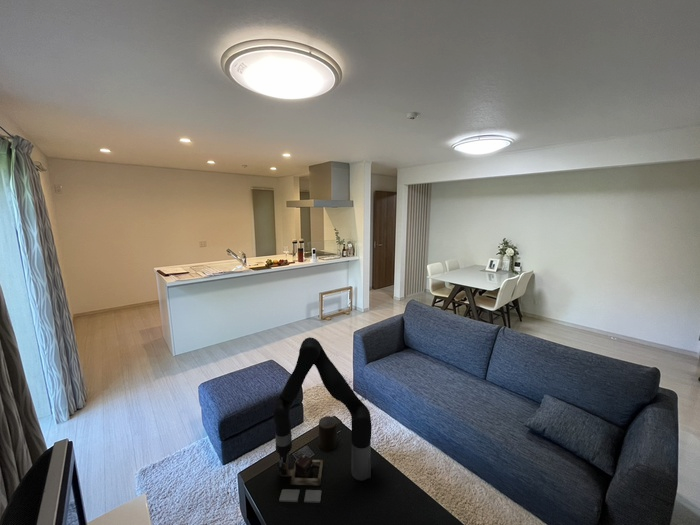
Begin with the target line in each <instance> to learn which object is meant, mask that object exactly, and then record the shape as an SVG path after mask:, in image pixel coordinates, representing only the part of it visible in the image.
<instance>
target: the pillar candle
mask: <svg viewBox="0 0 700 525" xmlns="http://www.w3.org/2000/svg"><path fill="white" fill-rule="evenodd" d="M337 432H338V431H337V419H336V418H335V417H333V416H330V415H326V416H323V417H321V418H320V419H319V422H318V446H319V448H320V450H322V451H324V452H331V451H333V450H335V449H336V447H337V445H338V444H337V440H338V436H337Z"/></svg>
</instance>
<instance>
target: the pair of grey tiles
mask: <svg viewBox="0 0 700 525" xmlns="http://www.w3.org/2000/svg"><path fill="white" fill-rule="evenodd" d="M300 490H301V489H289V488H288V489H286V488H285V489H284V488H283V489H281V493H280V496H279V500H278V501H279V502H281V503H282V502H284V503H288V502H289V503H298V502H299V495H300V492H301V491H300ZM321 498H322V490H321V489H315V490H314V489H305V495H304V500H303V502H304V503H311V504H313V503H318V504H319V503H321V500H322V499H321Z"/></svg>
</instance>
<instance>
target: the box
mask: <svg viewBox="0 0 700 525" xmlns="http://www.w3.org/2000/svg"><path fill="white" fill-rule="evenodd" d="M312 460H313V459H312V458H311V457H310V456H309V457H308V456H307V455H305V453H304V454H302V456H300V457H299V458H298V460H297V461H296V460H295V461H296V462H294V465H295V468H296V476H295V477H296V478H310V477H311V475H312V474H313V473H314V470H313V469H314V468H313V467H314V466H313V464H312Z"/></svg>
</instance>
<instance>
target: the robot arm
mask: <svg viewBox="0 0 700 525" xmlns="http://www.w3.org/2000/svg"><path fill="white" fill-rule="evenodd" d="M313 366H315V368H316V370H317V371H318V374H319V377H320V379H321V382H322V384H323V385H324V388H325V389H326V390H327V391H328V393H329V394H330V395H331V397H332V398H333V399H335V401H338V402H340V403H342V404H343V405H344V406H345V407H346V409H347V410H348V412H349V413H350V418H351V422H350V423H351V468H350V469H351V475H352V477H353V478H354V479H355V480H357V481H361V482H362V481H365V480H367V479H371V477H372V476H371V475H372V474H371V472H372V471H371V469H372V468H371V466H372V459H371V458H372V457H371V447H372V446H371V445H372V444H371V443H372V442H371V441H372V417H371V416H372V415H371V412H370V409H369V408H368V407H367V406H366V404H365V403H363V402H362V400H361V399H360V398H359V397H358V396H357V395H356V393H355V392H354V390H353V389H352V388H351V386H350V384H349V383H348V381H347V380H346V379H345V378H344V376H343V374H341V372H340V371H339V369H338V368H337V367H336V365H335V364H334V363H333V361H332V360H331V359H330V358H329V356H328V355H327V353H326V352H325V349H324V348H323V346H322V345H321V342H320V341H319V340H318V339H316V338H314V337H312V336H311V337H310V336H309V337H306V338H305V339H304V340H303V341H302V342H301V344H300V348H299V351H298V357H297V361H296V363H295V367H294V369H293V370H292V372H291V374H290V375H289V376H288V379H287V381H286V383H285V385H284V387H283V389H282V392H281V394H280V395H279V396H278V399H277V401H276V404H275V406H274V410H273V422H274V425H275V437H274V438H275V451H276V453H277V454H278V460H279V462H278V463H277V468H278V471H279V472H280V476H281V475H286V464H287V461H288V462H289V458H290V451H292V449H293V448H292V447H293V440H292V437H293V435H292V423H291V418H290V413H291V412H290V411H291V407H292V405H293V402H294V401H295V400H296V398H297V397H298V395H299V393H300V391H301V388H302V386H303V384H304V381H305V380H306V377H307V376H308V374H309V372H310V371H311V369H312V367H313Z"/></svg>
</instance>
